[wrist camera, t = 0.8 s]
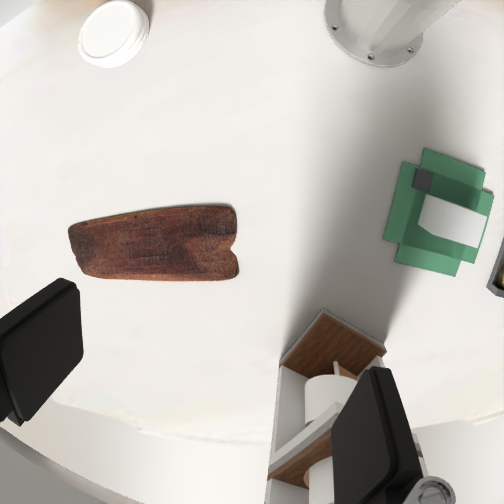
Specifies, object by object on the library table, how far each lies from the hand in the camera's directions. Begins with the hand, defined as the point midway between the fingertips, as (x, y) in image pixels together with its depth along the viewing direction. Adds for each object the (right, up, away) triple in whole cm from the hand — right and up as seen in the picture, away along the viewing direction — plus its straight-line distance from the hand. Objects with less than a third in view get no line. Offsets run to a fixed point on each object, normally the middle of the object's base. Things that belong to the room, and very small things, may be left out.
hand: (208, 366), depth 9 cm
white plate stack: (-17, +33, +24) cm, 44 cm away
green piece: (+26, +8, +27) cm, 39 cm away
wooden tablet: (-13, +5, +34) cm, 37 cm away
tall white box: (+13, -11, +35) cm, 39 cm away
